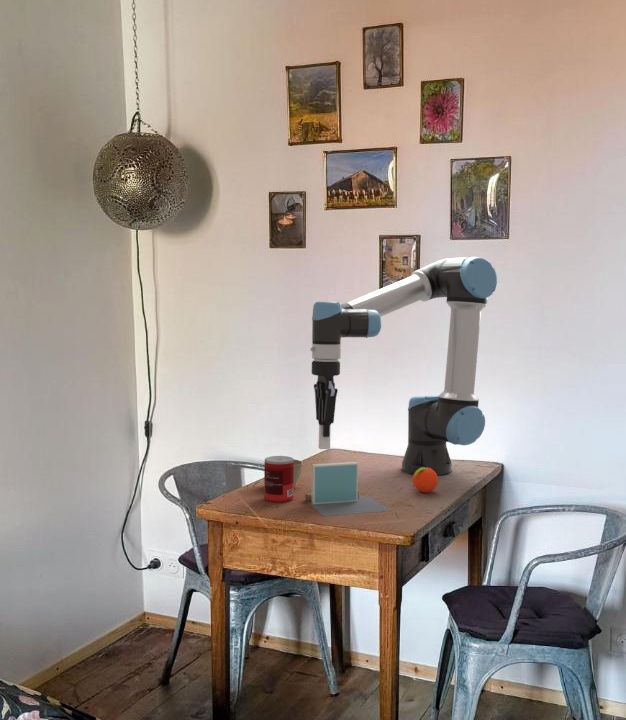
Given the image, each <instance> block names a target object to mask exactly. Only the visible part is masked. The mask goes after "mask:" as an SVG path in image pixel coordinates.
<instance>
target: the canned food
mask: <svg viewBox="0 0 626 720" xmlns="http://www.w3.org/2000/svg"><path fill="white" fill-rule="evenodd" d="M293 459H294V457H291V456H287V455H286V456H285V455H273V456H268V457H265V458H264V461H263V462H264V468H263V469H264V472H263V473H264V479H263V480H264V491H263V492H264V493H263V494H264V500H265V501H266V502H270V503H274V504H275V503H276V504H277V503H278V504H281V503H288V502H291V501H293V500H294V497H295V495H294V494H295V492H294V489H295V488H294V487H295V486H294V460H293Z"/></svg>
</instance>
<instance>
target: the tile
mask: <svg viewBox="0 0 626 720" xmlns="http://www.w3.org/2000/svg"><path fill="white" fill-rule="evenodd" d="M358 485H359V463H358V461H347V462H333V463H331V462H330V463H316V464H314V463H313V464H311V493H312V504H325V503H339V502H352V501H358V489H359V486H358Z"/></svg>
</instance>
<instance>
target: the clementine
mask: <svg viewBox="0 0 626 720" xmlns="http://www.w3.org/2000/svg"><path fill="white" fill-rule="evenodd" d="M412 484H413V487H414V488H415V489H416V490H417V491H418V492H421V493H423V494H428V493H430V492H433V491H434V490H436V489H437V486H438V484H439V477H438V475H437V474H436V473H435V471H434V470H432V469H431V468H427V467H422V468H419V469H418V470H416V472H415V473H414V474H413V476H412Z"/></svg>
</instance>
